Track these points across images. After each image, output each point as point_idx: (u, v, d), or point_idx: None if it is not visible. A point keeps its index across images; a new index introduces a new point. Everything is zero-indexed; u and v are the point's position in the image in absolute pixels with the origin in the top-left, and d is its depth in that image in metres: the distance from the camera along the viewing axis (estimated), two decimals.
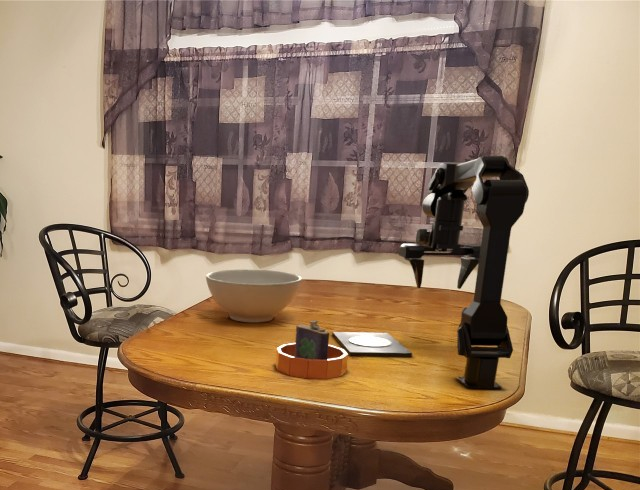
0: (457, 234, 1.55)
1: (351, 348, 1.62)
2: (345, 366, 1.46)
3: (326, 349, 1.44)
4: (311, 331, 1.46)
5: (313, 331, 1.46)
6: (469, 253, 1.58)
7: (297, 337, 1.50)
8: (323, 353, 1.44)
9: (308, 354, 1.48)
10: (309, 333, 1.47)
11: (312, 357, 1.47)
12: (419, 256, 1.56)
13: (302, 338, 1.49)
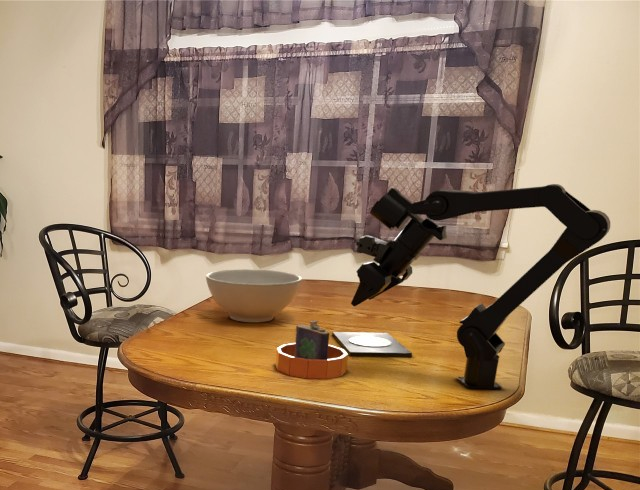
0: None
1: (351, 348, 1.62)
2: (345, 366, 1.46)
3: (326, 349, 1.44)
4: (311, 331, 1.46)
5: (313, 331, 1.46)
6: None
7: (297, 337, 1.50)
8: (323, 353, 1.44)
9: (308, 354, 1.48)
10: (309, 333, 1.47)
11: (312, 357, 1.47)
12: (385, 287, 1.39)
13: (302, 338, 1.49)
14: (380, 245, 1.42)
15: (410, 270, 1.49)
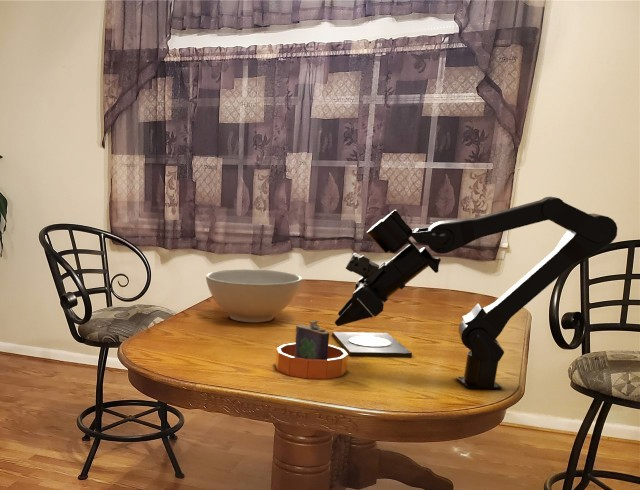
0: None
1: (351, 348, 1.62)
2: (345, 366, 1.46)
3: (326, 349, 1.44)
4: (311, 331, 1.46)
5: (313, 331, 1.46)
6: None
7: (297, 337, 1.50)
8: (323, 353, 1.44)
9: (308, 354, 1.48)
10: (309, 333, 1.47)
11: (312, 357, 1.47)
12: None
13: (302, 338, 1.49)
14: (373, 267, 1.37)
15: None
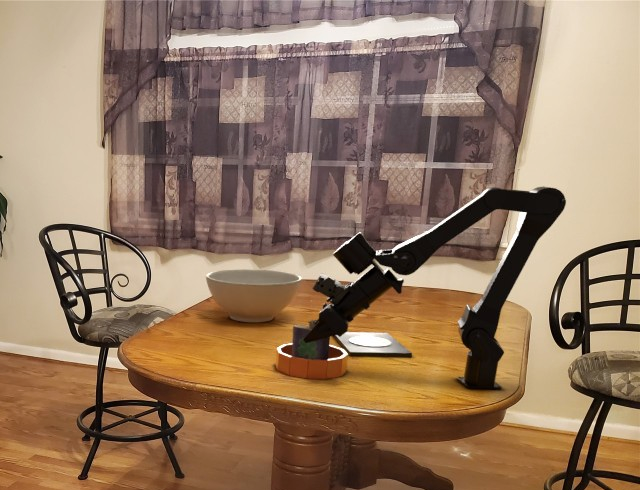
0: None
1: (351, 348, 1.62)
2: (345, 366, 1.46)
3: (328, 348, 1.45)
4: None
5: None
6: None
7: (295, 337, 1.50)
8: (325, 352, 1.45)
9: (308, 353, 1.48)
10: None
11: (313, 356, 1.47)
12: None
13: (301, 338, 1.49)
14: (339, 288, 1.41)
15: None
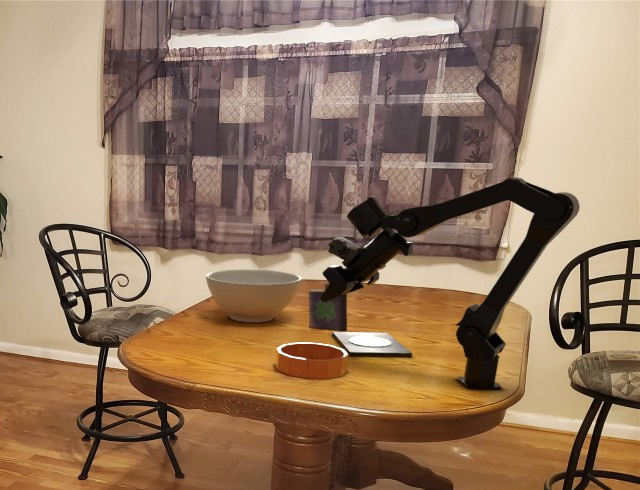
0: None
1: (351, 348, 1.62)
2: (345, 366, 1.46)
3: (346, 307, 1.53)
4: None
5: None
6: None
7: (312, 301, 1.57)
8: (344, 311, 1.53)
9: (326, 315, 1.56)
10: None
11: (331, 317, 1.55)
12: (346, 292, 1.46)
13: (318, 302, 1.56)
14: (350, 250, 1.47)
15: (377, 276, 1.55)
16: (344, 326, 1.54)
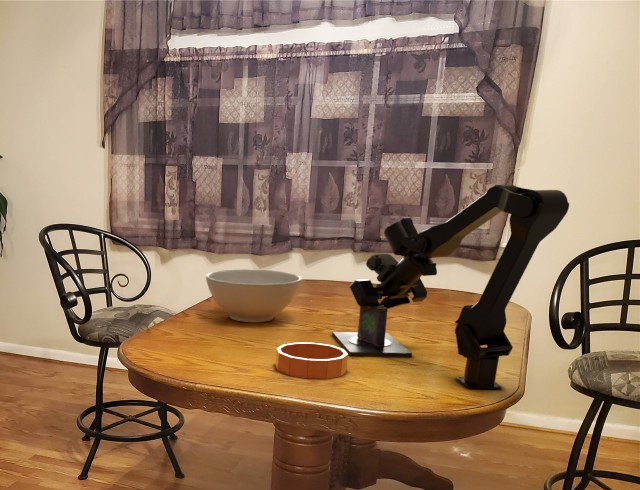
0: (409, 287, 1.56)
1: (351, 348, 1.62)
2: (345, 366, 1.46)
3: (384, 323, 1.62)
4: None
5: None
6: None
7: (360, 313, 1.69)
8: (381, 326, 1.62)
9: (369, 327, 1.67)
10: None
11: (372, 330, 1.65)
12: (370, 305, 1.57)
13: (365, 314, 1.67)
14: (384, 266, 1.57)
15: (422, 294, 1.60)
16: (380, 341, 1.63)
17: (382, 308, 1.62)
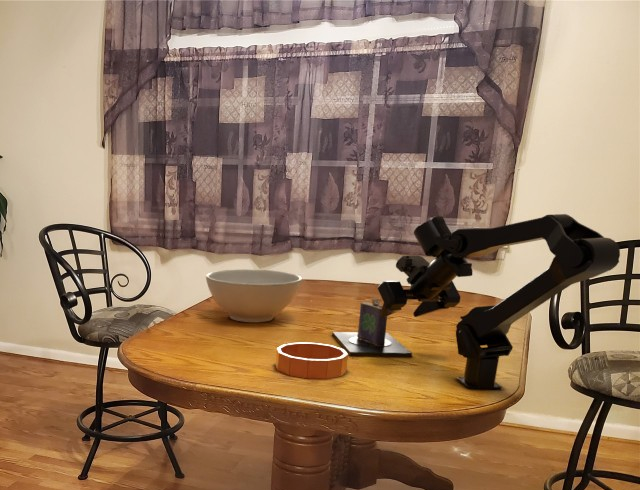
0: (442, 290, 1.47)
1: (351, 348, 1.62)
2: (345, 366, 1.46)
3: (384, 323, 1.62)
4: (372, 307, 1.65)
5: (374, 307, 1.64)
6: (440, 296, 1.53)
7: (361, 313, 1.69)
8: (381, 326, 1.62)
9: (369, 327, 1.67)
10: (371, 309, 1.65)
11: (372, 330, 1.65)
12: (399, 307, 1.48)
13: (365, 314, 1.67)
14: (415, 267, 1.49)
15: (455, 299, 1.51)
16: (380, 341, 1.63)
17: None
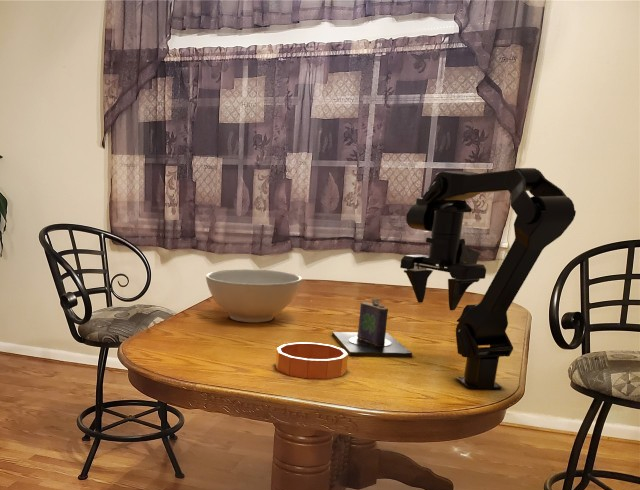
0: (440, 248, 1.43)
1: (351, 348, 1.62)
2: (345, 366, 1.46)
3: (384, 323, 1.62)
4: (372, 307, 1.65)
5: (374, 307, 1.64)
6: None
7: (361, 313, 1.69)
8: (381, 326, 1.62)
9: (369, 327, 1.67)
10: (371, 309, 1.65)
11: (372, 330, 1.65)
12: (408, 267, 1.52)
13: (365, 314, 1.67)
14: None
15: (460, 267, 1.39)
16: (380, 341, 1.63)
17: (382, 308, 1.62)
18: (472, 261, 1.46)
